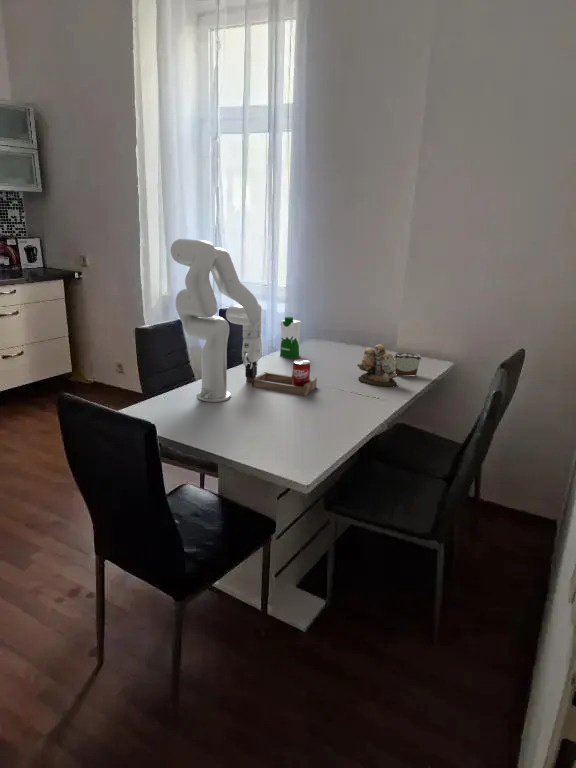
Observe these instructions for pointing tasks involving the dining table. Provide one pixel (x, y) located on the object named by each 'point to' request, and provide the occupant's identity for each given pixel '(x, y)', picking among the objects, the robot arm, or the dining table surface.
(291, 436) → the dining table surface
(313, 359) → the dining table surface
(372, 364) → the owl figurine
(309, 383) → the wooden tray frame
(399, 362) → the food container
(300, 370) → the soda can
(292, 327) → the milk carton
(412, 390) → the dining table surface
